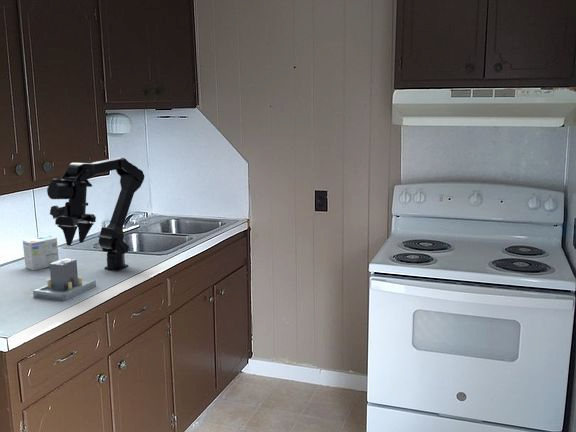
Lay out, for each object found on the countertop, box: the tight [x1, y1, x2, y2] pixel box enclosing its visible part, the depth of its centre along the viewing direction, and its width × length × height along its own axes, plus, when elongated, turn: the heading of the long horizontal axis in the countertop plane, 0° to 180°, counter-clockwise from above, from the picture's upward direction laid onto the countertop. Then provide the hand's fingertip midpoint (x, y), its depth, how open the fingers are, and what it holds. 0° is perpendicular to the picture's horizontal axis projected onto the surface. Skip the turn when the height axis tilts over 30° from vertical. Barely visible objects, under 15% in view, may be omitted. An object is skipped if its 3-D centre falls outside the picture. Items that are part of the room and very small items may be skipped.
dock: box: [32, 277, 97, 302], centre depth 193 cm, size 16×12×4 cm
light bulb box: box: [22, 235, 60, 271], centre depth 221 cm, size 11×7×11 cm, turn 141°
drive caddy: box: [49, 258, 79, 292], centre depth 193 cm, size 7×5×9 cm
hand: (75, 244), depth 203 cm, fingers open, 9 cm apart
